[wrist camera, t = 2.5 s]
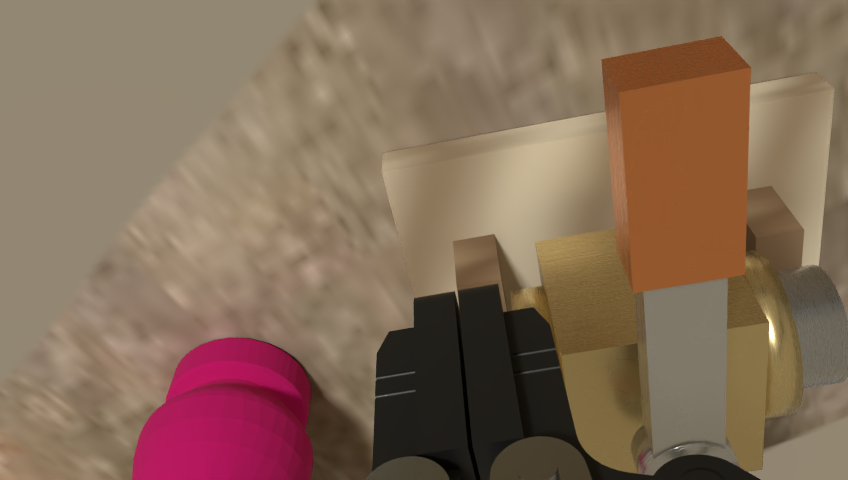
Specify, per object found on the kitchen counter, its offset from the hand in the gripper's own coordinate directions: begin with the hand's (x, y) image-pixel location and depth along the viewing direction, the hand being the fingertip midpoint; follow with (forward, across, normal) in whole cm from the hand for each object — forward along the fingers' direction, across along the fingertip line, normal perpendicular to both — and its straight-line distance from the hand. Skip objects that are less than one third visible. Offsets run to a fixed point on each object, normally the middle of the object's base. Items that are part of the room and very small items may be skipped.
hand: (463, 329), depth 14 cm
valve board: (+16, -5, +10) cm, 20 cm away
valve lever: (+6, -5, +5) cm, 9 cm away
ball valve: (+13, -5, +10) cm, 17 cm away
